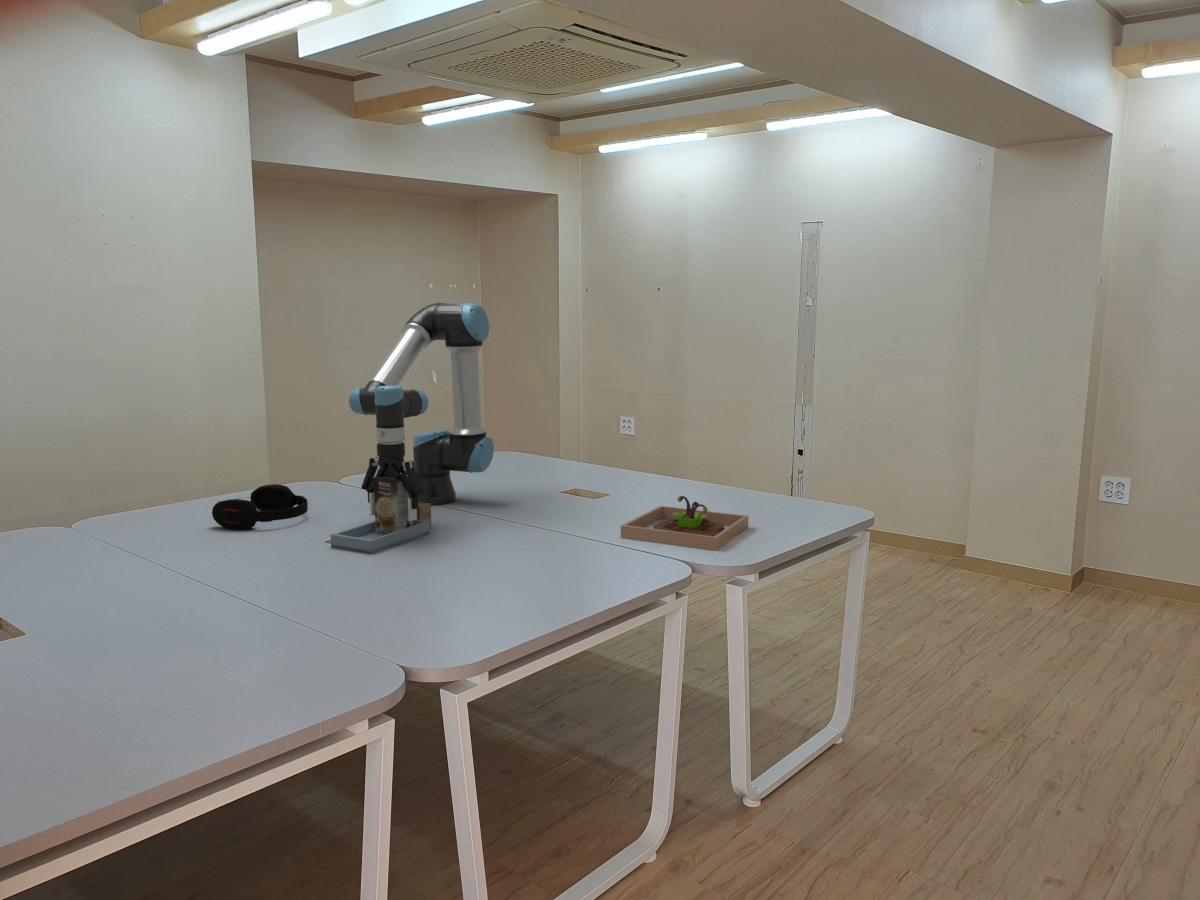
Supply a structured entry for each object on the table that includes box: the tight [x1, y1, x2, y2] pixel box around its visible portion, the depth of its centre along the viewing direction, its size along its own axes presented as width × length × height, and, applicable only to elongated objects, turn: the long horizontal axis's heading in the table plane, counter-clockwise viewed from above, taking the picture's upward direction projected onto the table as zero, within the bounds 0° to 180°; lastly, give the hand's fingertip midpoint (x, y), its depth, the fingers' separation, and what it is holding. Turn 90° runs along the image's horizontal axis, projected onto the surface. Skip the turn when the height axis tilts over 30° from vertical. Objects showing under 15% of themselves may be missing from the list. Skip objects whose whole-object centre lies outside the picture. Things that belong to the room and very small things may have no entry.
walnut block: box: [416, 502, 432, 528], centre depth 253 cm, size 5×5×7 cm
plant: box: [652, 495, 726, 536], centre depth 248 cm, size 20×20×11 cm
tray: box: [330, 520, 431, 555], centre depth 240 cm, size 14×24×4 cm, turn 153°
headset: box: [211, 483, 309, 531], centre depth 262 cm, size 28×26×9 cm
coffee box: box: [374, 475, 413, 535], centre depth 243 cm, size 9×6×16 cm
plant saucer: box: [620, 505, 749, 551], centre depth 249 cm, size 28×28×4 cm
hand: (393, 517), depth 244 cm, fingers open, 13 cm apart
